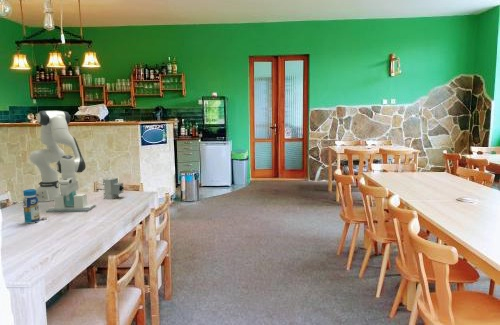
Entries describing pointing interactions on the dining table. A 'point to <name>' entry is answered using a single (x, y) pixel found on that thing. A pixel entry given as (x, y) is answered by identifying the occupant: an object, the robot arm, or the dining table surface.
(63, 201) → the mounting panel
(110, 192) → the circuit breaker
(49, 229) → the dining table surface
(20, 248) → the dining table surface
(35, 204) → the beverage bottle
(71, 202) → the block
